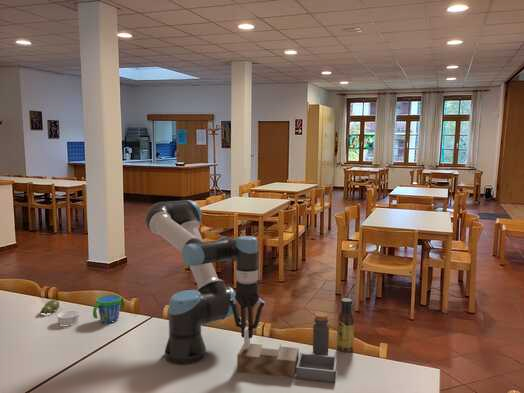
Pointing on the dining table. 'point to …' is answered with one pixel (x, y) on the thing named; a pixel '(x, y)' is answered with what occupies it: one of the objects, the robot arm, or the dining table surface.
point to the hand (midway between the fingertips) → (247, 346)
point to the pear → (50, 306)
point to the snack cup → (108, 307)
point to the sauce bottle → (345, 327)
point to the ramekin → (68, 317)
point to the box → (316, 368)
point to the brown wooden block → (268, 361)
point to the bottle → (320, 334)
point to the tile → (271, 348)
